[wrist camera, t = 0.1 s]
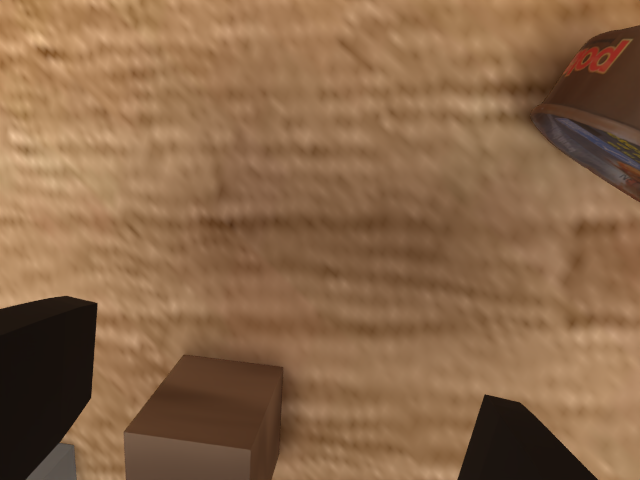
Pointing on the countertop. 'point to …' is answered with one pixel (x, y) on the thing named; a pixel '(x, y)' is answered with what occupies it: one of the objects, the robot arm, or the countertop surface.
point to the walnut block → (208, 423)
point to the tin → (599, 109)
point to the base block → (57, 465)
